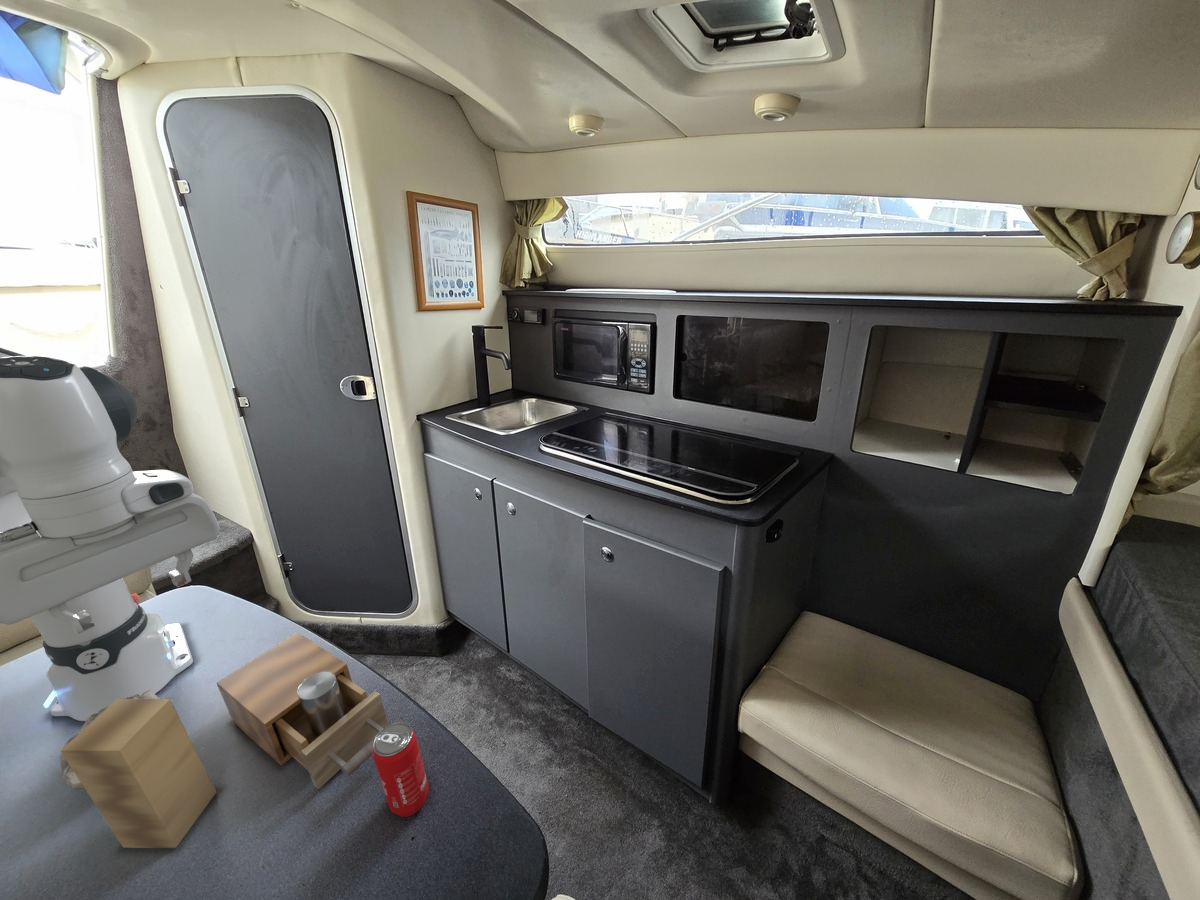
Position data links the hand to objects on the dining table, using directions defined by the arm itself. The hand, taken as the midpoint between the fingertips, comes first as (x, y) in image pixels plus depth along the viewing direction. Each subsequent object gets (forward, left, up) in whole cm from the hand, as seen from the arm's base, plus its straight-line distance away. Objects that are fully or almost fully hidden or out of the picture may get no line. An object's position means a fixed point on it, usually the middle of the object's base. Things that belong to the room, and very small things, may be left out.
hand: (136, 604), depth 60 cm
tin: (+5, +15, -29) cm, 33 cm away
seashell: (-11, -11, -31) cm, 35 cm away
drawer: (+5, +15, -30) cm, 34 cm away
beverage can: (+20, +22, -31) cm, 43 cm away
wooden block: (+4, -5, -31) cm, 32 cm away
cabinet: (-5, +10, -31) cm, 33 cm away
